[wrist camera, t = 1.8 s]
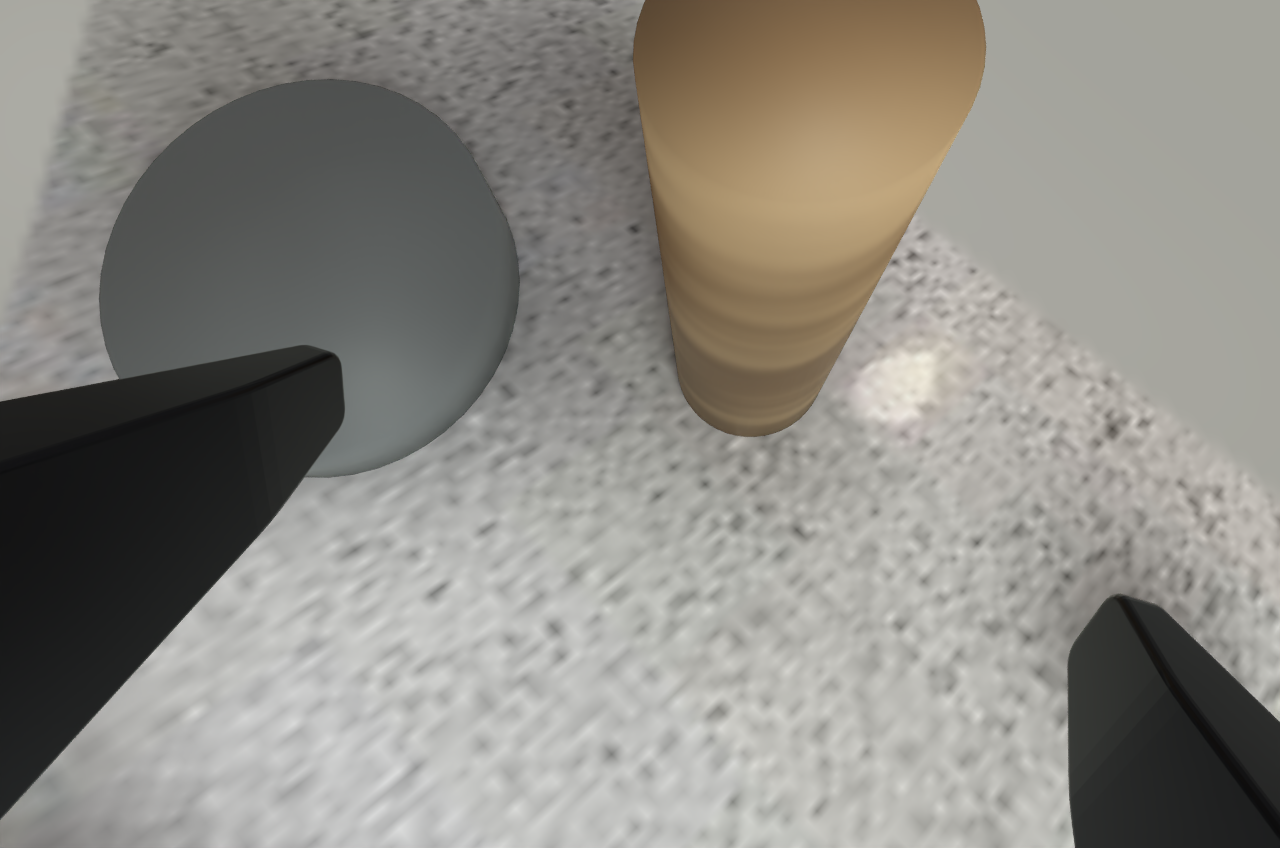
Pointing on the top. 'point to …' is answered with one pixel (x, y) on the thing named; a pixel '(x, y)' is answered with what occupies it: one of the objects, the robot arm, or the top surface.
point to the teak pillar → (789, 177)
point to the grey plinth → (320, 258)
